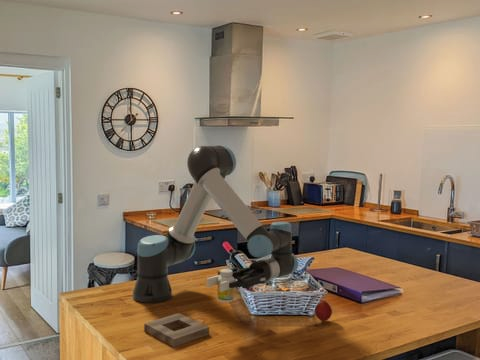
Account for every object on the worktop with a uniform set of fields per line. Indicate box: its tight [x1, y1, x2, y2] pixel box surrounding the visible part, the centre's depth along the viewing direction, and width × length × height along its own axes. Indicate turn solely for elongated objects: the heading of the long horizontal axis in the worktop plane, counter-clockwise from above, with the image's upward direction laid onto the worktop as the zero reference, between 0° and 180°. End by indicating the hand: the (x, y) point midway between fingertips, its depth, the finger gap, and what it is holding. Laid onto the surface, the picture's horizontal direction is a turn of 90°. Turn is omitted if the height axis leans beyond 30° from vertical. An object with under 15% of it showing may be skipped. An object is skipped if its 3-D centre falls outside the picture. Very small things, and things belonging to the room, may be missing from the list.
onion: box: [314, 299, 333, 323], centre depth 168 cm, size 6×6×8 cm
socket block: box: [143, 312, 210, 348], centre depth 156 cm, size 16×14×2 cm
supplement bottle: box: [217, 268, 235, 303], centre depth 155 cm, size 5×5×10 cm
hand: (213, 284), depth 151 cm, fingers closed on supplement bottle, 5 cm apart
